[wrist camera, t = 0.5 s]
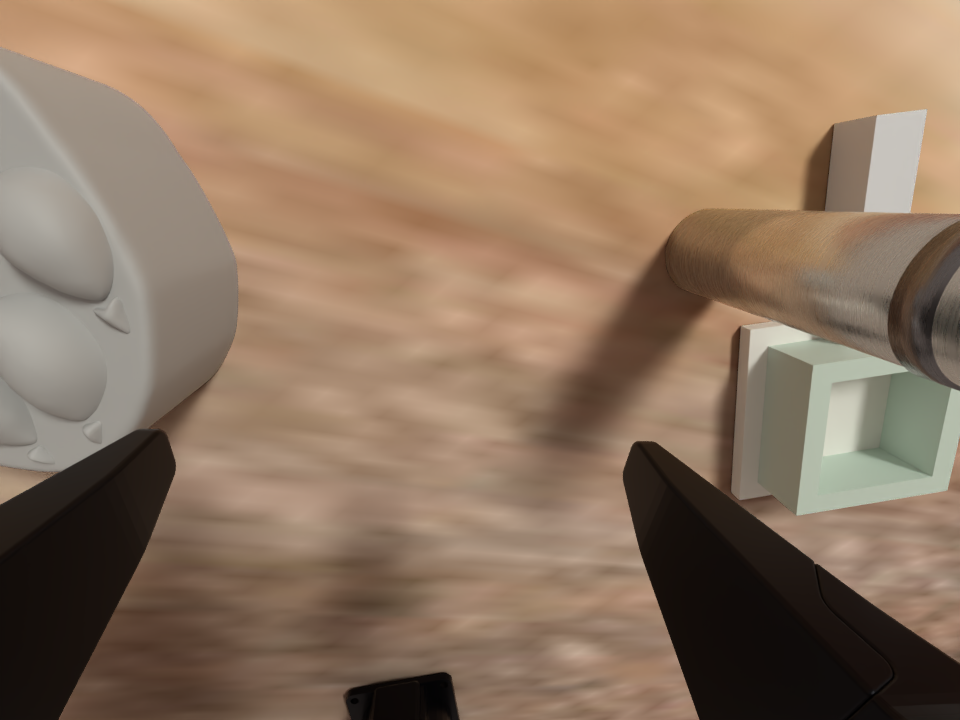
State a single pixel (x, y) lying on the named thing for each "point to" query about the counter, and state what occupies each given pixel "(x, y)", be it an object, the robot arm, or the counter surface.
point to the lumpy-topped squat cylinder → (99, 269)
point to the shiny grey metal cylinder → (835, 277)
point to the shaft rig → (843, 371)
